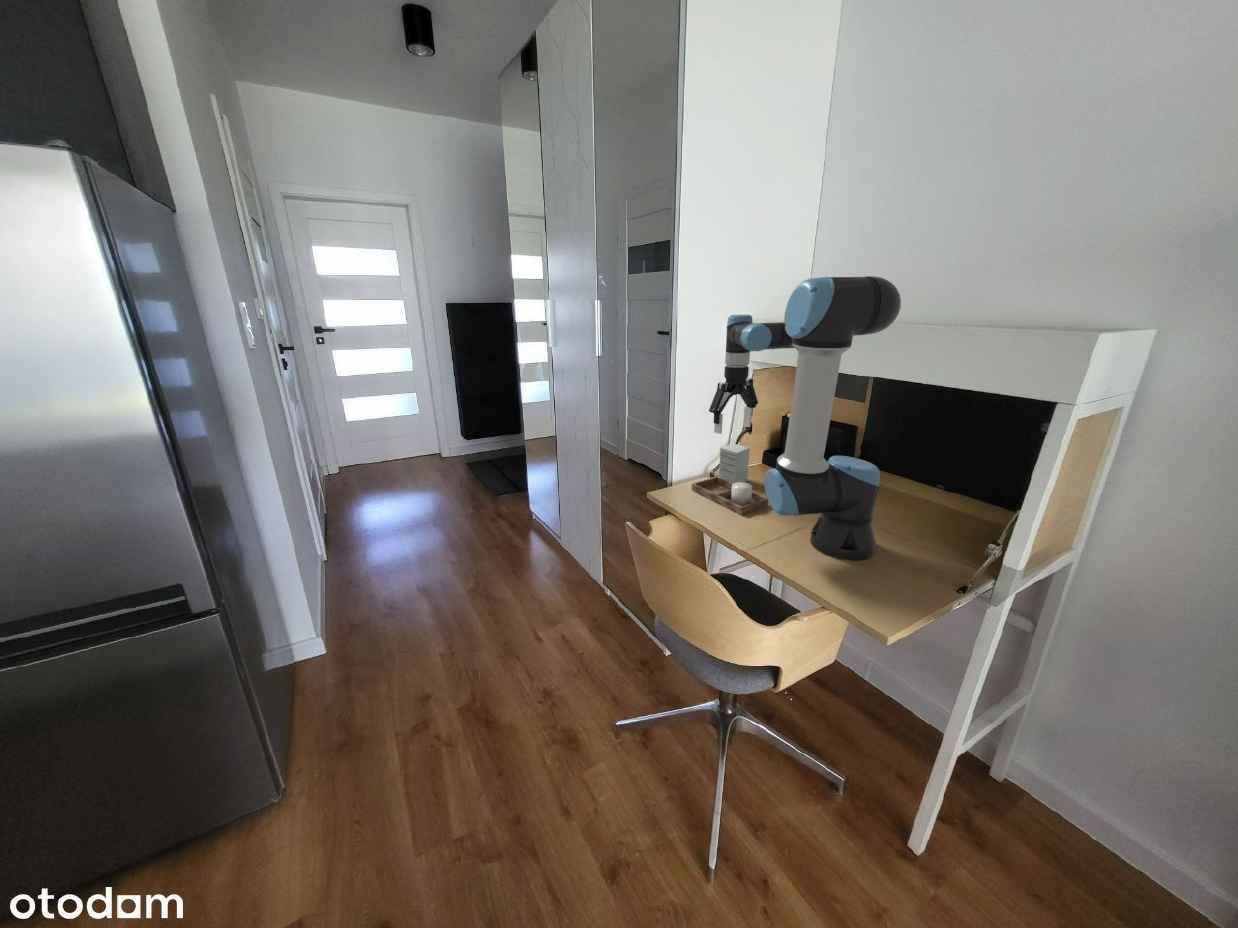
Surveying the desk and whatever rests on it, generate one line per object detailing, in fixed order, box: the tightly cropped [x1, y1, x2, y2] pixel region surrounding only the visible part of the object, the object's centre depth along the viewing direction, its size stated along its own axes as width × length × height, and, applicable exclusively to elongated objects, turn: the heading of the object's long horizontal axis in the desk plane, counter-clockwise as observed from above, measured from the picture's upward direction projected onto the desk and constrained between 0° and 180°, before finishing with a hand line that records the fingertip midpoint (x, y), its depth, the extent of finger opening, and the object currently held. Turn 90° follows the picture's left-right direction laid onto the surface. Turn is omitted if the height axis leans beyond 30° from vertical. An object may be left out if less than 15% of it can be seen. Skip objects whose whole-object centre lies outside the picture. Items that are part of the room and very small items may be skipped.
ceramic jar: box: [731, 482, 753, 506], centre depth 141 cm, size 6×6×6 cm
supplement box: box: [718, 443, 751, 483], centre depth 158 cm, size 7×7×13 cm
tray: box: [691, 475, 770, 516], centre depth 146 cm, size 22×12×3 cm, turn 32°
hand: (732, 429), depth 153 cm, fingers open, 13 cm apart
